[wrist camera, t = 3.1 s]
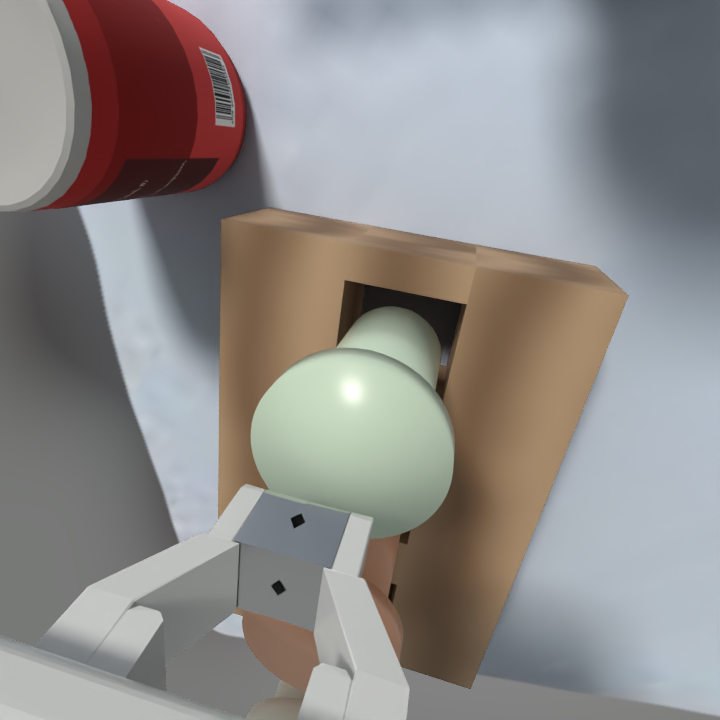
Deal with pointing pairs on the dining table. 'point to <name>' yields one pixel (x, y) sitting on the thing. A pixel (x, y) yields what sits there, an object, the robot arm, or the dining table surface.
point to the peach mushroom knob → (297, 645)
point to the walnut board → (454, 386)
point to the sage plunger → (362, 425)
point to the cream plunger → (279, 704)
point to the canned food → (111, 103)
